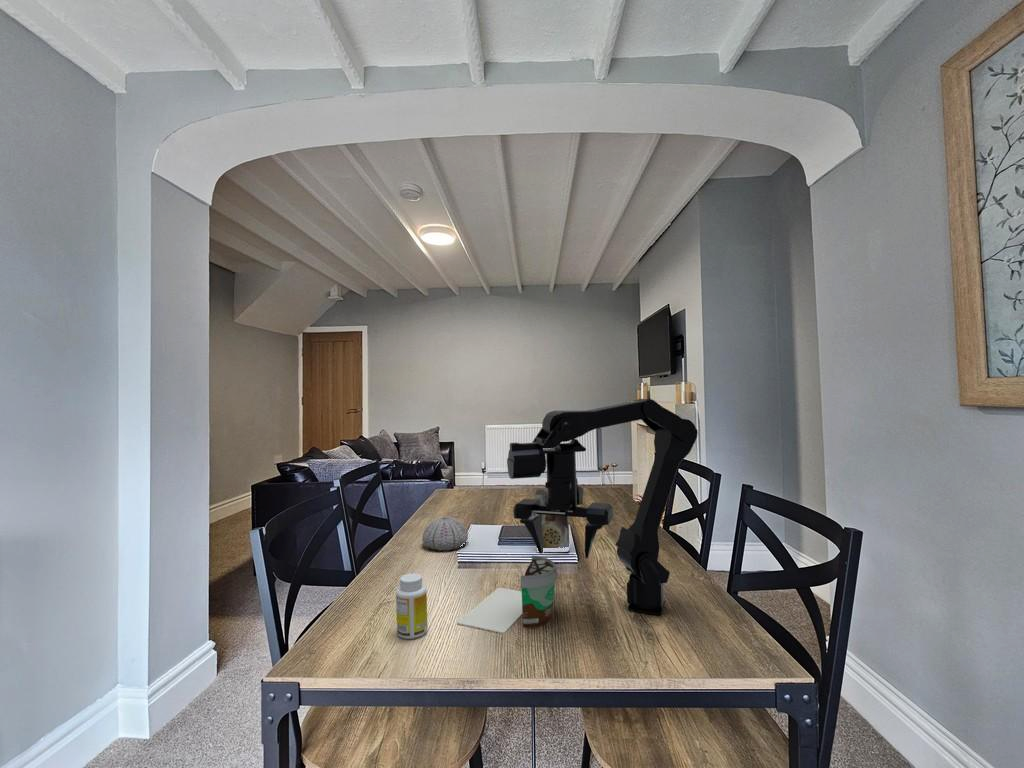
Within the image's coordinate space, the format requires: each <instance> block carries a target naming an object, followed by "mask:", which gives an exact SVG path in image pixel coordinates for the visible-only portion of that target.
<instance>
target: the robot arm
mask: <svg viewBox="0 0 1024 768" xmlns="http://www.w3.org/2000/svg"><path fill="white" fill-rule="evenodd" d="M640 420H641V421H642V422H643V423H644V425H646V426H647V427H648V428H649V429H650V430H651V431H652V432H654V437H653V445H654V454H655V456H654V460H653V464H652V467H651V470H650V472H649V476H648V479H647V482H646V485H645V488H644V491H643V494H642V498H641V500H640V504H639V507H638V511H637V513H636V515H635V519H634V522H633V523H632V524H631V525H630V526H629V527H628V528H627V527H624V526H621V528H620V532H619V537H618V539H617V541H616V542H615V544H614V545H615V546H616V547H617V548H616V555H617V558H618V559H619V561H620V562H621V563H622V564H624V566H625V570H626V571H628V572H629V573H630V575H629V576H628V577H629V578H628V580H627V582H626V602H627V603H626V604H628V606H627V610H628V611H630V612H635V613H643V614H649V615H653V616H661V615H662V614H663V611H664V608H665V605H666V600H665V599H664V598H665V597H664V596H665V595H664V591H665V590H664V584H668V580H669V578H670V570H668V569H667V568H666V567H665V566H664V565H663V564H661V563H660V561H659V556H660V555H659V554H660V541H659V528H660V525H661V523H662V519H663V516H664V513H665V510H666V506H667V503H668V500H669V498H670V494H671V490H672V488H673V484H674V481H675V478H676V475H677V472H678V468H679V465H680V464H681V462H683V460H684V459H685V458H687V456H688V455H689V454H690V453H691V451H692V449H693V447H694V445H695V443H696V442H697V441H696V440H697V439H698V433H699V432H698V431H699V430H698V429H697V427H696V425H695V423H694V422H693V421H691V420H689V419H688V418H682V417H681V416H679V415H678V414H677V413H674V412H672V411H671V410H669V409H667V408H665V407H664V406H662V405H660V404H659V403H658V402H657V401H656V400H654V399H652V398H637V399H636V400H633V401H628V402H623V403H618V404H613V405H609V406H602V407H597V408H592V409H588V410H587V409H586V410H552V411H549V412H547V413H546V414H545V416H544V418H543V420H542V423H541V425H542V426H541V428H540V430H539V431H538V433H537V434H536V435H535V437H534V439H533V440H532V442H522V443H521V442H510V443H509V450H508V456H507V460H506V466H507V473H508V476H509V479H510V480H514V479H516V480H517V479H526V478H527V479H528V478H529V479H530V478H540V477H541V476H542V474H545V472H546V481H545V483H544V484H545V485H544V487H545V488H546V489H547V497H548V503H547V504H546V505H541V502H540V500H538V499H535V498H534V499H532V498H523V499H522V500H520V501H518V502H517V503H516V504H514V507H513V511H512V512H513V519H516V520H519V523H520V524H523V525H524V526H525V528H526V529H527V531H528V532H529V534H530V536H531V538H532V540H533V541H534V544H535V547H536V546H537V548H538V551H539V552H538V553H539V554H542V555H543V534H542V515H557V516H569V517H573V518H577V517H578V518H585V519H586V521H587V523H586V524H585V525H584V526H585V527H584V555H585V557H584V558H585V559H589V557H590V553H591V550H592V547H593V543H594V540H595V537H596V534H597V532H598V530H601V529H602V528H603V527H604V526H608V525H609V524H610V522H611V521H612V520H613V519H614V509H613V506H612V505H611V504H610V503H607V502H606V503H605V502H604V503H603V502H602V503H601V502H592V503H591V504H590V505H588V506H587V507H585V506H579V505H583V504H584V503H583V502H584V488H582V487H581V486H579V484H578V483H579V482H578V478H577V467H576V466H577V465H576V460H577V459H576V458H577V457H576V453H578V452H579V453H580V452H586V450H587V448H586V447H585V446H583V444H581V443H580V442H579V440H578V439H577V438H581V437H582V436H584V435H586V434H588V433H589V432H592V431H594V430H597V429H601V428H602V429H603V428H606V427H610V426H611V427H612V426H616V425H622V424H625V423H631V422H635V421H640ZM566 442H567V443H566ZM553 510H559V511H553ZM566 511H568V512H566Z"/></svg>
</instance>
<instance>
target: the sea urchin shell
mask: <svg viewBox="0 0 1024 768" xmlns="http://www.w3.org/2000/svg"><path fill="white" fill-rule="evenodd" d="M464 525H465V524H463V523H461V522H460V521H459V520H458V519H456V518H453V517H448V516H444V517H443V516H442V517H441V518H436V519H435V520H432V521H431V522H430V523H428V524H427V526H426V527H425V528H424V530H423V532H422V535H421V537H422V538H421V541H422V543H423V544H424V546H425V547H427V548H429V549H432V550H435V551H436V550H437V551H441V552H442V551H443V552H444V551H446V552H447V551H450V550H457V549H460V548H461V547H460V546H461V545H462V544H463V543H465V542H466V541H467V542H468V539H469V532H468V529H467V528H466V527H465V526H464ZM467 542H466V543H467ZM459 547H460V548H459Z"/></svg>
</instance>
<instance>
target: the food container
mask: <svg viewBox="0 0 1024 768" xmlns="http://www.w3.org/2000/svg"><path fill="white" fill-rule="evenodd" d="M558 578H559V572H558V569H557V566H556V565H555V562H554V561H553V560H551V559H550V558H547V557H544V556H539V555H531V562H530V564H529V565H528V566H527V568H526V571H525V573H524V575H521V576H520V588H521V590H520V591H522V614H523V615H522V628H527V627H528V628H529V629H530V628H539V627H542V626H546V625H547V624H548V623H549V624H550V623H551V622H552V620H553V618H554V601H555V600H554V598H555V582H556V581H557V580H558Z"/></svg>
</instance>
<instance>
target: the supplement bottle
mask: <svg viewBox="0 0 1024 768" xmlns="http://www.w3.org/2000/svg"><path fill="white" fill-rule="evenodd" d="M399 581H400V582H399V586H398V588H397V589H396V591H395V600H396V601H395V602H396V604H395V607H396V608H395V609H396V612H395V613H396V633H397V635H398V636H399V638H402V639H405V640H412V639H417V638H420V637H423V636H424V635H425V634H426V633H427V631H428V599H427V595H428V594H427V587H426V585H424V584H423V577H422V575H421V574H419V573H407V574H404V575H402V576H401V577H400V579H399Z"/></svg>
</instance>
